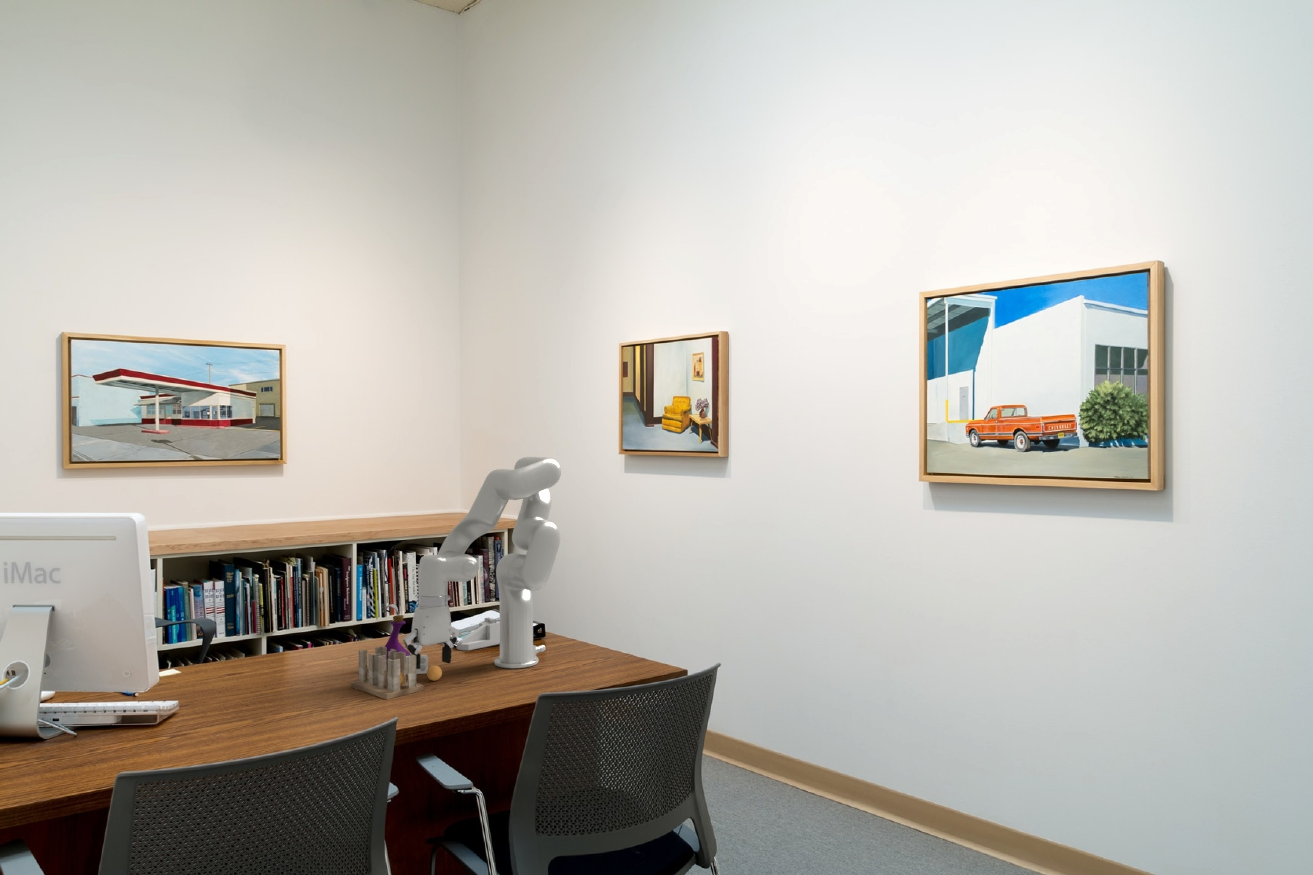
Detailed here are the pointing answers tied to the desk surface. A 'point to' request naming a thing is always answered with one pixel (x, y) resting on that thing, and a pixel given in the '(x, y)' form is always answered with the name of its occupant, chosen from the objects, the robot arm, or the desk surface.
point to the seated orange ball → (402, 678)
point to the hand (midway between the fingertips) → (431, 665)
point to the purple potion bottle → (395, 634)
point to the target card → (423, 665)
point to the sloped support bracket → (482, 635)
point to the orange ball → (434, 673)
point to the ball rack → (378, 676)
